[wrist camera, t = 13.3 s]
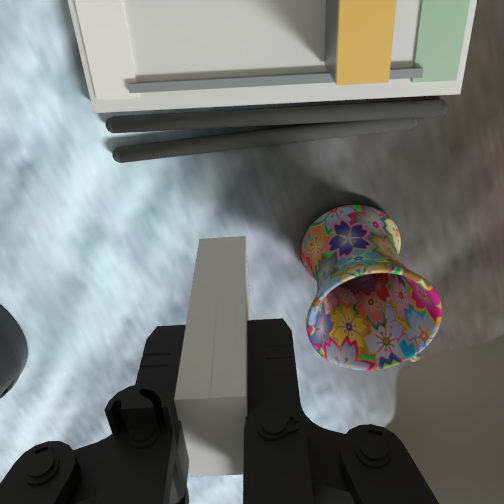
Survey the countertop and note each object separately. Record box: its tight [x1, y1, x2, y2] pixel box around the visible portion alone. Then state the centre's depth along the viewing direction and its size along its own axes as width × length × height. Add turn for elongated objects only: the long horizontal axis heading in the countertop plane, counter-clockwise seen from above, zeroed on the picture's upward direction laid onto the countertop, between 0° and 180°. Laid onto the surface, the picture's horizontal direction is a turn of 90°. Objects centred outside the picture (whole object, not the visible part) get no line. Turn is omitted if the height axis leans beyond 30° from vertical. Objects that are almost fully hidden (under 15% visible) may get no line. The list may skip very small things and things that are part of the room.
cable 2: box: [113, 117, 418, 163], centre depth 36 cm, size 23×1×1 cm, turn 97°
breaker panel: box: [68, 0, 477, 113], centre depth 32 cm, size 26×10×2 cm, turn 93°
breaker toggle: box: [324, 0, 397, 85], centre depth 29 cm, size 3×5×6 cm, turn 3°
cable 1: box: [106, 100, 448, 133], centre depth 36 cm, size 25×1×1 cm, turn 93°
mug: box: [301, 205, 442, 370], centre depth 38 cm, size 12×9×11 cm
